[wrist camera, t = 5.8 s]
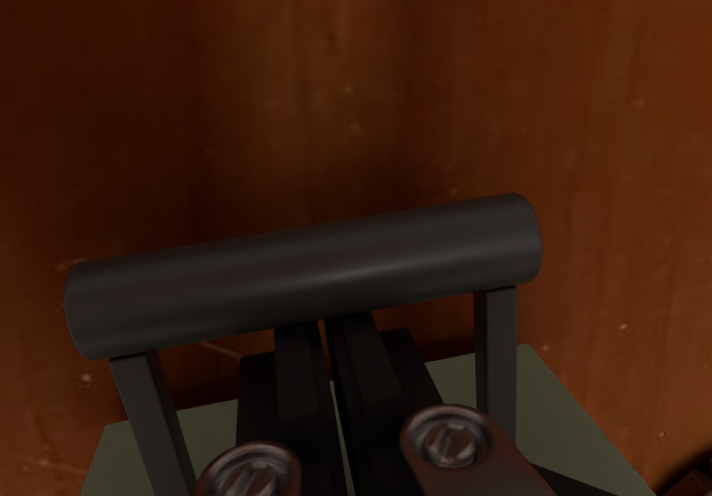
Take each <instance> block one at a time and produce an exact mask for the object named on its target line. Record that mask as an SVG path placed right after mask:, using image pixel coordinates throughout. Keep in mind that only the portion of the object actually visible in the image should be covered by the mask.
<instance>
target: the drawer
mask: <svg viewBox="0 0 712 496" xmlns="http://www.w3.org/2000/svg"><path fill="white" fill-rule="evenodd" d="M541 263H542V239H541V232H540V228H539V224H538V221H537V218H536V215H535V213H534V210H533V208H532V207H531V205H530V203H529V202H528V200H527V199H526V198H525V197H524V196H522V195H521V194H518V193H514V192H511V193H505V194H499V195H492V196H486V197H480V198H474V199H468V200H462V201H455V202H449V203H443V204H437V205H431V206H424V207H418V208H412V209H406V210H400V211H394V212H387V213H381V214H375V215H369V216H363V217H356V218H350V219H344V220H338V221H332V222H326V223H319V224H313V225H307V226H301V227H295V228H288V229H282V230H276V231H270V232H264V233H257V234H251V235H245V236H239V237H233V238H227V239H220V240H214V241H208V242H202V243H196V244H189V245H183V246H177V247H171V248H165V249H159V250H152V251H146V252H140V253H134V254H128V255H121V256H115V257H109V258H103V259H97V260H91V261H84V262H79V263H77V264H76V265H74V266H72V267H71V268H70V270H69V272H68V274H67V277H66V280H65V285H64V311H65V318H66V323H67V327H68V331H69V334H70V337H71V339H72V342H73V344H74V346H75V348H76V349H77V351H78V352H79V353H80V355H81V356H83V357H84V358H85V359H88V360H92V361H97V360H102V359H108V358H110V359H109V365H110V368H111V371H112V374H113V377H114V380H115V383H116V386H117V389H118V391H119V394H120V397H121V400H122V403H123V406H124V409H125V412H126V414H127V417H128V420H126V421H121V422H116V423H111V424H107V425H106V426H105V428H104V431H103V434H102V436H101V439H100V442H99V444H98V447H97V450H96V452H95V455H94V458H93V460H92V463H91V466H90V468H89V471H88V474H87V476H86V479H85V482H84V484H83V487H82V490H81V492H80V495H79V496H192V495H193V492H194V489H195V486H196V483H197V481H198V479H199V477H200V475H201V473H202V471H203V470H204V469H205V468H206V466H207V465H208V464H209V463H210V462H211V461H212V460H213V459H214V458H215V457H217V456H218V455H220V454H221V453H223V452H224V451H226V450H227V449H230V448H232V447H234V446H235V444H236V425H237V406H238V399H235V400H230V401H224V402H219V403H214V404H209V405H204V406H199V407H193V408H188V409H183V410H178V411H176V410H175V407H174V403H173V400H172V397H171V393H170V390H169V387H168V383H167V380H166V377H165V373H164V370H163V367H162V363H161V360H160V357H159V353H158V349H163V348H169V347H174V346H180V345H185V344H191V343H196V342H202V341H207V340H213V339H218V338H224V337H229V336H235V335H240V334H246V333H251V332H257V331H262V330H268V329H273V328H279V327H284V326H290V325H295V324H301V323H306V322H312V321H318V320H323V319H329V318H334V317H340V316H345V315H351V314H356V313H362V312H367V311H373V310H378V309H384V308H389V307H395V306H400V305H406V304H411V303H417V302H422V301H428V300H433V299H439V298H444V297H450V296H455V295H461V294H466V293H472V292H473V304H474V341H475V353H472V354H467V355H462V356H456V357H451V358H446V359H441V360H436V361H431V362H425V365H426V367H427V369H428V371H429V373H430V375H431V377H432V379H433V382H434V384H435V386H436V388H437V390H438V392H439V394H440V396H441V398H442V400H443V402H444V403H450V404H461V405H466V406H470V407H473V408H475V409H477V410H479V411H482V412H484V413H485V414H487V415H488V416H489V417H490V418H491V419H492V420H493V421H495V422H496V424H497V425H498V426H499V427H500V428H501V429H502V431H503V432H504V433H505V434H506V435H507V436H508V438H509V439H510V440H511V441H512V442H513V444H514V445H515V446H516V447H517V448H518V449H519V451H520V452H521V453H522V454H523V455H524V457H525V458H526V459H527V460H528V461H529V462H530V463H533V464H536V465H538V466H541V467H544V468H546V469H549V470H552V471H554V472H557V473H559V474H562V475H565V476H567V477H570V478H573V479H575V480H578V481H581V482H583V483H586V484H589V485H591V486H594V487H597V488H599V489H602V490H604V491H607V492H610V493H612V494H615V495H618V496H656V494H655V493H654V492H653V491H652V490H651V489H650V487H649V486H648V485H647V484H646V483H645V481H644V480H643V479H642V478H641V477H640V475H639V474H638V473H637V472H636V471H635V470H634V468H633V467H632V466H631V465H630V464H629V462H628V461H627V460H626V459H625V458H624V457H623V455H622V454H621V453H620V452H619V451H618V449H617V448H616V447H615V446H614V445H613V443H612V442H611V441H610V440H609V439H608V438H607V436H606V435H605V434H604V433H603V432H602V430H601V429H600V428H599V427H598V426H597V425H596V423H595V422H594V421H593V420H592V419H591V417H590V416H589V415H588V414H587V413H586V411H585V410H584V409H583V408H582V407H581V406H580V404H579V403H578V402H577V401H576V400H575V398H574V397H573V396H572V395H571V394H570V393H569V391H568V390H567V389H566V388H565V387H564V385H563V384H562V383H561V382H560V381H559V379H558V378H557V377H556V376H555V375H554V374H553V372H552V371H551V370H550V369H549V368H548V366H547V365H546V364H545V363H544V362H543V361H542V359H541V358H540V357H539V356H538V355H537V353H536V352H535V351H534V350H533V349H532V347H531V346H530V345H529V344H528V343H523V344H518V345H517V288H516V286H515V285H516V284H522V283H527V282H530V281H532V280H533V279H534V278H536V276H537V275H538V273H539V271H540V268H541ZM330 386H331V391H332V396H333V402H334V407H335V413H336V419H337V425H338V432H339V438H340V445H341V452H342V458H343V465H344V472H345V478H346V485H347V492H348V496H355V491H354V487H353V482H352V477H351V472H350V467H349V462H348V458H347V453H346V448H345V443H344V438H343V433H342V429H341V424H340V419H339V414H338V409H337V403H336V397H335V391H334V384H333V381H330Z"/></svg>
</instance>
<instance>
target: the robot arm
mask: <svg viewBox="0 0 712 496" xmlns="http://www.w3.org/2000/svg"><path fill="white" fill-rule="evenodd" d="M324 324H325V330H326V337H327V344H328V351H329V357H330V364H331V371H332V377H333V384H334V391H335V397H336V403H337V409H338V414H339V419H340V424H341V429H342V433H343V438H344V443H345V448H346V453H347V458H348V462H349V467H350V472H351V477H352V482H353V487H354V491H355V496H618V495H615V494H612V493H610V492H607V491H604V490H602V489H599V488H597V487H594V486H591V485H589V484H586V483H583V482H581V481H578V480H575V479H573V478H570V477H567V476H565V475H562V474H559V473H557V472H554V471H552V470H549V469H546V468H544V467H541V466H538V465H536V464H533V463H530V462H529V461H528V460H527V459H526V458H525V457H524V455H523V454H522V453H521V452H520V451H519V449H518V448H517V447H516V446H515V445H514V444H513V442H512V441H511V440H510V439H509V438H508V436H507V435H506V434H505V433H504V432H503V431H502V429H501V428H500V427H499V426H498V425H497V424H496V422H495V421H493V420H492V419H491V418H490V417H489V416H488V415H487V414H485V413H484V412H482V411H479V410H477V409H475V408H473V407H470V406H466V405H461V404H450V403H444V402H443V400H442V398H441V396H440V394H439V392H438V390H437V388H436V386H435V384H434V382H433V379H432V377H431V375H430V373H429V371H428V369H427V367H426V365H425V363H424V361H423V359H422V357H421V355H420V353H419V351H418V349H417V347H416V345H415V343H414V341H413V339H412V337H411V335H410V333H409V331H408V329H407V328H399V329H394V330H388V331H383V332H379V331H378V329H377V326H376V324H375V321H374V319H373V316H372V314H371V311H367V312H362V313H356V314H351V315H345V316H340V317H334V318H329V319H324ZM274 341H275V351H273V352H267V353H262V354H256V355H251V356H245V357H241V358H240V367H239V387H238V406H237V425H236V444H235V446H234V447H232V448H230V449H227V450H226V451H224V452H223V453H221V454H220V455H218V456H217V457H215V458H214V459H213V460H212V461H211V462H210V463H209V464H208V465H207V466H206V468H205V469H204V470H203V471H202V473H201V475H200V477H199V479H198V481H197V483H196V486H195V489H194V492H193V495H192V496H348V492H347V485H346V478H345V472H344V465H343V458H342V452H341V445H340V438H339V432H338V425H337V419H336V413H335V407H334V402H333V396H332V391H331V386H330V381H329V376H328V371H327V366H326V361H325V356H324V351H323V346H322V341H321V337H320V332H319V327H318V322H317V321H312V322H306V323H301V324H295V325H290V326H284V327H279V328H274Z"/></svg>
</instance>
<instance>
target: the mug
mask: <svg viewBox="0 0 712 496" xmlns="http://www.w3.org/2000/svg"><path fill="white" fill-rule="evenodd" d="M708 462H709V468H710V472H709V473H707V474H706V475H705V474H703V473H701V472H698V471H696V470H694V469H691V470H690V471H689V472H688V473H687V474H685V475H684V476H683V477H682V478H681V479H680V480H678V481H677V482H676V483H675V484H674V485H672V486H671V487H670V488H669V489H668V490H666V491H665V492H664V493H663V494H662V495H661V496H712V457H710V458H708Z"/></svg>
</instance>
